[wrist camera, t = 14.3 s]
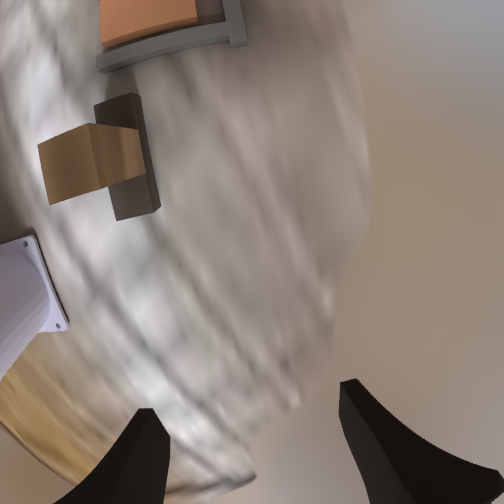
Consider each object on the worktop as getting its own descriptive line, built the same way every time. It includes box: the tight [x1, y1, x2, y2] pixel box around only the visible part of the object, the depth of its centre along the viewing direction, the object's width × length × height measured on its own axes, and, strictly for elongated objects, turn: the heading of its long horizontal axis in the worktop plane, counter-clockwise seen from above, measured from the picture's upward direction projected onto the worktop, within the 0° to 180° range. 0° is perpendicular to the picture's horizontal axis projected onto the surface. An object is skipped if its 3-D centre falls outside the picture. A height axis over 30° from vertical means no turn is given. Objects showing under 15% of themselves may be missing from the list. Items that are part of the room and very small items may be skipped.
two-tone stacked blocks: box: [38, 93, 161, 221], centre depth 13 cm, size 2×7×8 cm, turn 9°
